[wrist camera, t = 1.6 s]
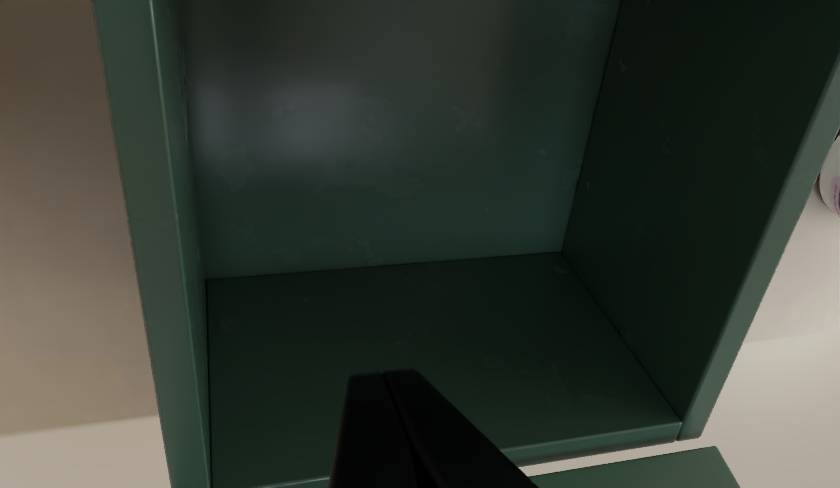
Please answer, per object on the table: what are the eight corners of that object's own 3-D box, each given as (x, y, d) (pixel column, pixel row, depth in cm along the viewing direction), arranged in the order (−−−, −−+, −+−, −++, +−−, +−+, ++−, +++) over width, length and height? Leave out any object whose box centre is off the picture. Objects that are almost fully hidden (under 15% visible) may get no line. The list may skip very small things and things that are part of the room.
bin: (120, -216, 15) (61, -178, 8) (671, -167, 19) (950, -112, 12) (181, 286, 23) (176, 523, 16) (567, 255, 26) (701, 439, 20)
